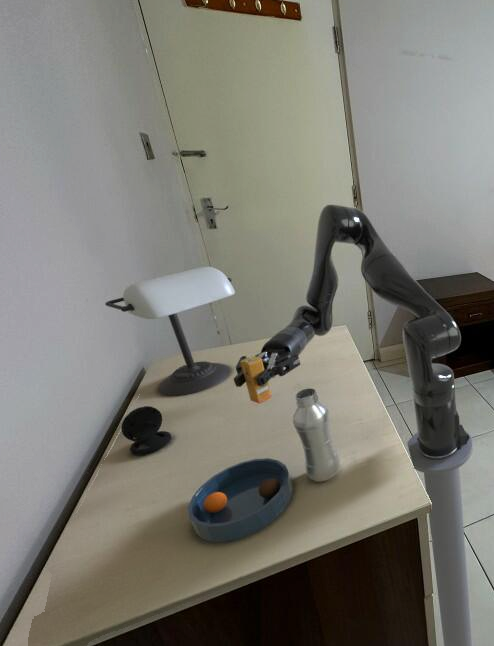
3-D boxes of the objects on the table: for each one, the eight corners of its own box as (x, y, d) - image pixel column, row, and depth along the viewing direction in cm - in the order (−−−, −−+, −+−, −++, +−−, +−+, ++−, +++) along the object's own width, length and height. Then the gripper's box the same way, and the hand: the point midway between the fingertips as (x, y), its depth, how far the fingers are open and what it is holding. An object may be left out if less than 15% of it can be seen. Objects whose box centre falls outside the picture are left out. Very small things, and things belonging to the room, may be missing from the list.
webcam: (157, 432, 97) (142, 397, 93) (180, 436, 95) (166, 401, 91) (122, 453, 90) (104, 417, 86) (146, 459, 88) (129, 422, 84)
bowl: (295, 464, 86) (291, 450, 84) (288, 524, 72) (283, 508, 70) (208, 486, 81) (202, 471, 79) (182, 555, 67) (174, 539, 65)
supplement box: (273, 396, 90) (262, 357, 86) (259, 404, 87) (247, 365, 83) (264, 393, 91) (253, 354, 87) (250, 400, 89) (237, 361, 85)
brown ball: (282, 486, 80) (278, 472, 78) (280, 499, 77) (276, 485, 75) (262, 491, 78) (258, 477, 77) (259, 505, 75) (254, 490, 74)
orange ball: (231, 499, 77) (226, 485, 75) (227, 514, 74) (221, 499, 72) (209, 505, 76) (203, 491, 74) (204, 520, 72) (198, 505, 71)
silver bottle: (348, 465, 85) (331, 386, 77) (327, 489, 79) (306, 406, 72) (323, 459, 87) (305, 381, 79) (301, 482, 81) (278, 400, 73)
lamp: (177, 416, 103) (127, 293, 90) (128, 394, 113) (76, 280, 99) (269, 369, 125) (240, 264, 111) (221, 354, 135) (189, 256, 121)
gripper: (253, 333, 98) (208, 368, 83) (311, 332, 99) (276, 366, 83) (261, 360, 101) (219, 398, 86) (317, 358, 101) (285, 396, 86)
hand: (248, 382), depth 84 cm, fingers closed on supplement box, 4 cm apart
